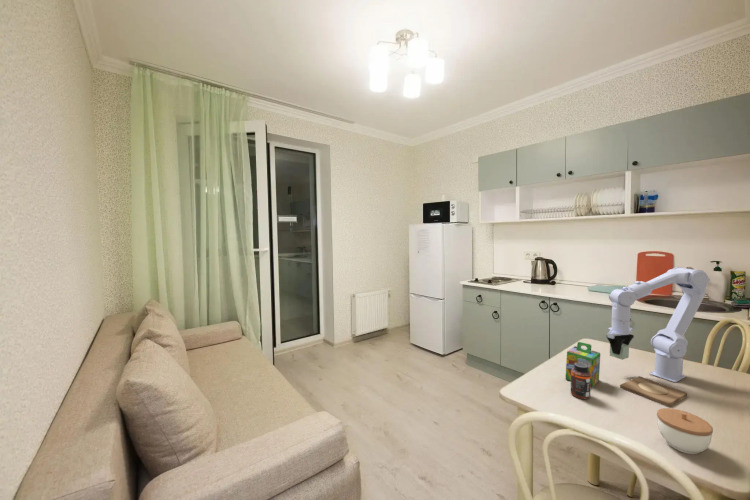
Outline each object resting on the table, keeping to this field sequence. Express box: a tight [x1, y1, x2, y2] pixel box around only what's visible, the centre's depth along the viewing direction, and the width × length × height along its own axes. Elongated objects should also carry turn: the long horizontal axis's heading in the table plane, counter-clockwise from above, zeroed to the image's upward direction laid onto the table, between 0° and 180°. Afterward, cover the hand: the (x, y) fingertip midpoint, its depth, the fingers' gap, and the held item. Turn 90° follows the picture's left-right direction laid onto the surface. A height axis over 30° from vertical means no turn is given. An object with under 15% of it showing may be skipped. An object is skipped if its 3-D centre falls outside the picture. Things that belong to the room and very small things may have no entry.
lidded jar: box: [656, 407, 714, 455], centre depth 84 cm, size 11×11×9 cm
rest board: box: [619, 375, 688, 408], centre depth 111 cm, size 14×14×1 cm
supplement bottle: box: [570, 363, 592, 400], centre depth 110 cm, size 6×6×11 cm
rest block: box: [609, 344, 630, 361], centre depth 123 cm, size 4×4×5 cm
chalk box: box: [565, 341, 601, 389], centre depth 120 cm, size 9×9×15 cm
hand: (619, 352), depth 123 cm, fingers closed on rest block, 4 cm apart
